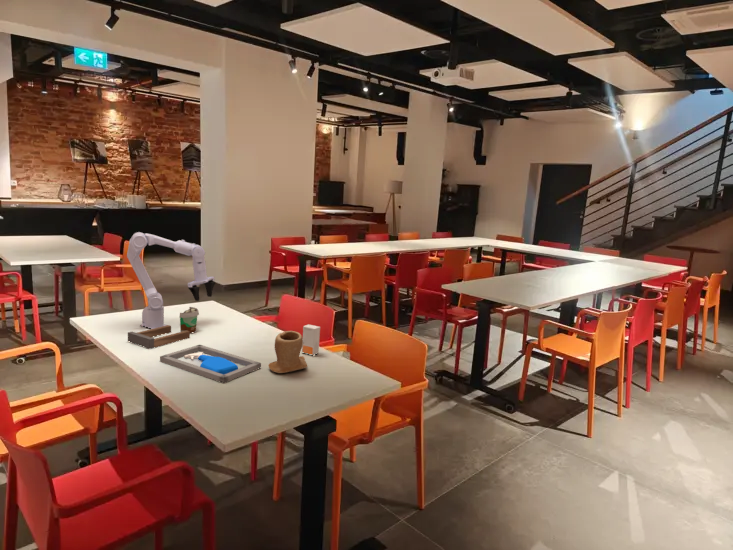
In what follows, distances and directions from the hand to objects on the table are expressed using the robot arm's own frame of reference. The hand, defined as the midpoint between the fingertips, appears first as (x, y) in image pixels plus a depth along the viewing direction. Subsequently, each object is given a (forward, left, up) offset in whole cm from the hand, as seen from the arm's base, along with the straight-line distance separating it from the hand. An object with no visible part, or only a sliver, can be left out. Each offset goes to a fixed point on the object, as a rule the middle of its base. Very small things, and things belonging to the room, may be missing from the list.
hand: (203, 298), depth 233 cm
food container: (+5, -11, -13) cm, 18 cm away
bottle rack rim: (+43, -35, -13) cm, 57 cm away
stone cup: (+69, -20, -13) cm, 73 cm away
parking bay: (+5, -27, -13) cm, 30 cm away
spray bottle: (+43, -35, -14) cm, 57 cm away
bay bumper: (+5, -37, -13) cm, 40 cm away
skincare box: (+64, 0, -13) cm, 65 cm away
